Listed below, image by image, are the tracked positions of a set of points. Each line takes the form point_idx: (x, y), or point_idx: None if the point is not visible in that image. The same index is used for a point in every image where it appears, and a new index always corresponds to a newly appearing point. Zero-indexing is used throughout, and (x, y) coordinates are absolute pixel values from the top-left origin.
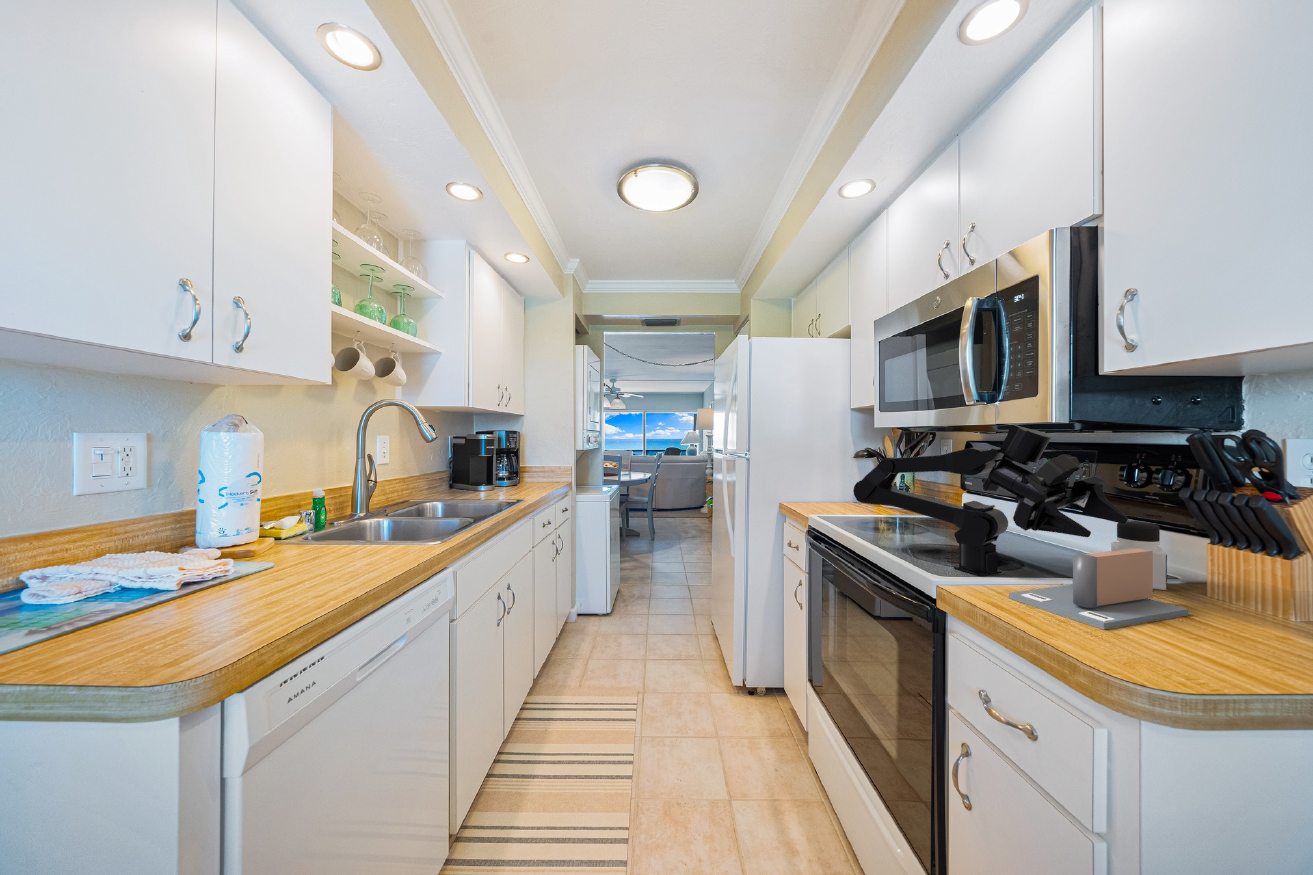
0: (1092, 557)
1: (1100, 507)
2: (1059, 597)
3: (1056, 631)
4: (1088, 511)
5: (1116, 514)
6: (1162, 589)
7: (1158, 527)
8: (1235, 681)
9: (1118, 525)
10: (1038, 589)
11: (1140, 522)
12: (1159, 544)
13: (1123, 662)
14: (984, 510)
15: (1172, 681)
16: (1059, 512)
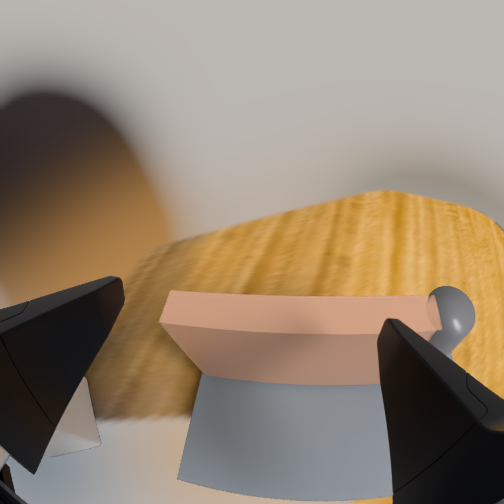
0: (444, 294)
1: (36, 365)
2: (387, 436)
3: (499, 323)
4: (33, 441)
5: (94, 303)
6: (87, 382)
7: None
8: (422, 205)
9: None
10: (368, 494)
11: None
12: None
13: (485, 248)
14: None
15: (471, 219)
16: (488, 420)
